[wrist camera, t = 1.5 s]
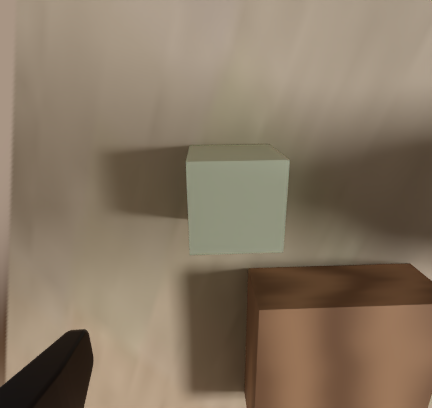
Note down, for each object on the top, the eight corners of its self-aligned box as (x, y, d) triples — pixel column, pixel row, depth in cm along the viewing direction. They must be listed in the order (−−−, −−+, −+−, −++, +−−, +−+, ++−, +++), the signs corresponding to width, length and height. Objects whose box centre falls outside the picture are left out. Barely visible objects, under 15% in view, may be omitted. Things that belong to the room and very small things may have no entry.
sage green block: (269, 143, 20) (289, 159, 15) (265, 217, 21) (283, 252, 17) (189, 145, 20) (185, 161, 15) (192, 219, 21) (189, 255, 16)
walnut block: (407, 261, 23) (458, 303, 19) (380, 381, 27) (417, 441, 23) (247, 265, 23) (259, 310, 18) (244, 387, 27) (252, 450, 22)
